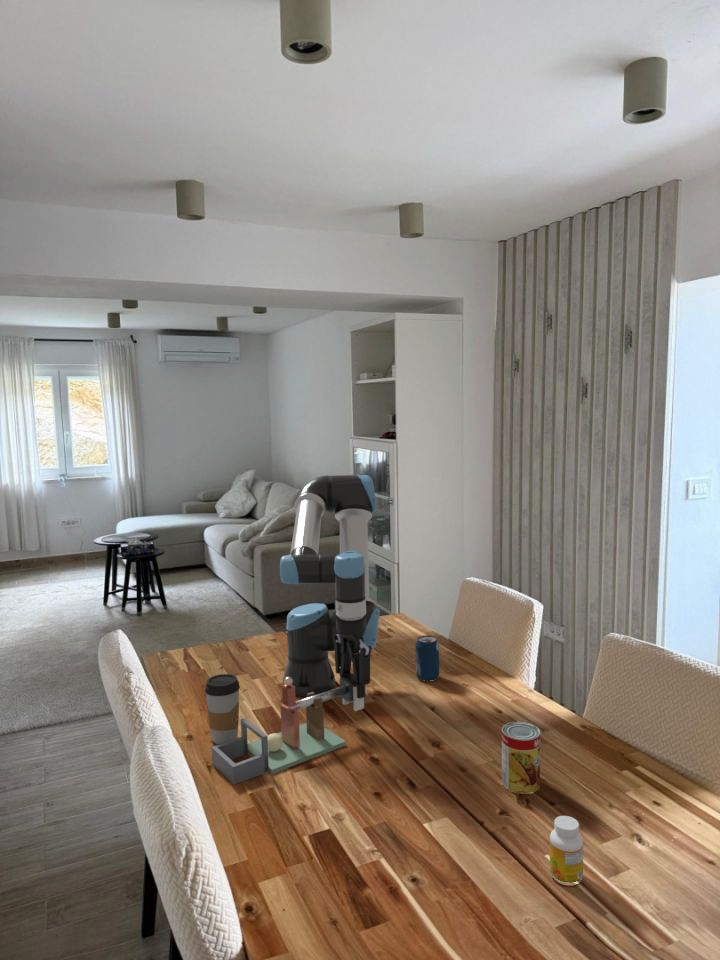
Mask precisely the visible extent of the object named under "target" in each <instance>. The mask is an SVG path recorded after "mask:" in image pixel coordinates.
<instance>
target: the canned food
mask: <svg viewBox="0 0 720 960" xmlns="http://www.w3.org/2000/svg"><path fill="white" fill-rule="evenodd" d="M501 784H503V785H504V786H505V788H507V789H508V790H510V791H513V792H515V793H530V792H534V791H536V790H537V789H539V787H540V788H541V730H540V728H539V727H538V726H536V725H534V724H532V723H528V722H525V721H512V722H510V721H509V722H508V723H506V724H503V726H502V727H501ZM503 785H502V786H503ZM505 788H504V789H505ZM508 790H507V791H508ZM539 790H540V789H539ZM510 791H509V792H510ZM515 793H514V794H515Z"/></svg>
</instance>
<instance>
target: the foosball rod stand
mask: <svg viewBox="0 0 720 960" xmlns="http://www.w3.org/2000/svg"><path fill="white" fill-rule="evenodd" d="M284 684H285V685H283V684H282V686H281V687H282V688H281V689H282V690H281V691H282V693H281V694H282V703H281V704H280V705H279V707H280V729H281V730H280V732H281V734H282V740H283V741H284V742H286V743H287V744H288V745H290V746H291V747H292V748H294V749H297V748H300V736H299V725H300V713H299V710H302V709H306V707H308V706H311V705H314V698H317V697H320V696H321V697H322V703H323V702H326V701H329V700H331V699H336V698H338V697H340V698H341V699H342V698H343V699H345V700H347V701H348V702H351V703H353V702H352V701H353V684H355V679H354V673H352V674H350V675H347V676H344V677H341V678H340V677H339V687H336V688H333V689H332V690H330V691H326V692H323V693H320V694H317V695H314V696H311V697H308V698H307V697H305V698H302V699H300V700H296V695H295V686H293V685H292V684H293V679H292V678H291V677H286V678H285V679H284ZM366 692H367V691H366V685H364V695H365V696H364V698H365V697H366V696H367V695H366V694H367V693H366Z"/></svg>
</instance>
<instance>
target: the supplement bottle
mask: <svg viewBox="0 0 720 960" xmlns="http://www.w3.org/2000/svg"><path fill="white" fill-rule="evenodd" d="M553 823H554V826H553V829H552V831H551V833H550V835H549V874H550V873H551V874H552V876H554V877H555V878H556V879H558V880H560V881H563V882H570V883H571V882H576V881H579V880H580V879H581V878H582V876H584V838H583V836H582V834H581V833H580V823H579V821H578V820H577V819H575V818H574V817H572V816H568V815H559V816H556V818H555V819H554V822H553Z"/></svg>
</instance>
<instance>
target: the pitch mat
mask: <svg viewBox="0 0 720 960" xmlns="http://www.w3.org/2000/svg"><path fill="white" fill-rule="evenodd" d="M276 734H278V735H280V736H281V738H282V734H281V731H280V732H277V733H276ZM299 736H300V748H297V749H294V748H292V747H291V746H290V745H288V744H287V743H286V742H284V741H283V740H282V746H281V748H280V749H279V750H278V751H276V752H271V751H269V750H268V763H269V771H268V772H269V773H270V774H271V775H273V774H276V773H278V772H279V773H280V772H281V771H283V770H287V769H289V768H292V767H294V766H297V765H300V764H302V763H305V762H307V761H308V760H312V759H314V758H317V757H319V756H322V755H324V754H327V753H329V752H332V751H335V750H338V749H340V748H343V747H344V746H346V745H347V742H346V740H344V739H343V738H341V737H340V736H339V735H336V734H335V732H332V731H331V730H329V729H328V728H326V727H325V726H324V739H321V740H317V739H315V738H314V737H312V736H311V735H309V734H308V733H307V722H304V723H302V724H299ZM247 744H248V755H249V756H250V758H252V757H255V756H258V755H260V754H262V742H261V738H260V739H256V740H254V741H251V742H247Z"/></svg>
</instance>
